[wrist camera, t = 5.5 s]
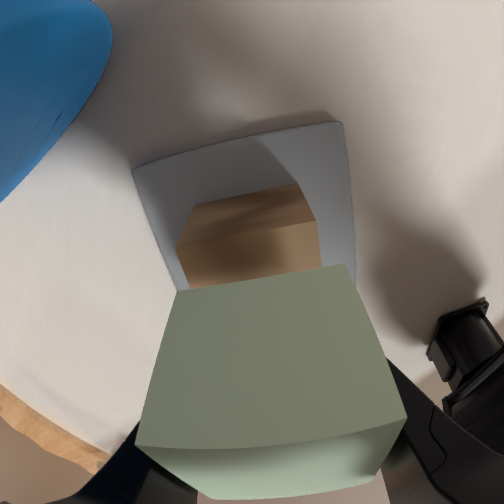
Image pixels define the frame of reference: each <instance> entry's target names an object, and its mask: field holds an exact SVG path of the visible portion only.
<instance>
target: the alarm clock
mask: <svg viewBox="0 0 504 504" xmlns="http://www.w3.org/2000/svg"><path fill="white" fill-rule="evenodd" d="M112 41H113V37H112V26H111V23H110V20H109V18H108V17H107V15H106V14H105V13H104V11H103V10H102V9H100V8H99V7H98V6H97V5H96V4H95V3H93V2H92V1H91V0H0V203H1V202H2V201H3V200H4V199H5V198H6V197H7V196H8V195H9V194H10V193H11V192H12V191H13V190H14V189H15V188H16V187H17V186H18V184H19V183H20V182H21V181H22V180H23V179H24V178H25V177H26V176H27V175H28V174H29V173H30V172H31V170H32V169H33V168H34V167H35V166H36V165H37V164H38V163H39V161H40V160H41V159H42V158H43V157H44V156H45V154H46V153H47V152H48V151H49V150H50V149H51V147H52V146H53V145H54V144H55V142H56V141H57V140H58V139H59V138H60V136H61V135H62V134H63V133H64V131H65V130H66V129H67V127H68V126H69V125H70V123H71V122H72V121H73V119H74V118H75V117H76V115H77V114H78V113H79V111H80V110H81V108H82V107H83V105H84V104H85V102H86V101H87V99H88V98H89V96H90V95H91V93H92V91H93V90H94V88H95V86H96V85H97V83H98V81H99V79H100V77H101V75H102V73H103V71H104V69H105V66H106V64H107V62H108V59H109V56H110V52H111V48H112Z"/></svg>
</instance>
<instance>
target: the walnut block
mask: <svg viewBox="0 0 504 504" xmlns="http://www.w3.org/2000/svg"><path fill="white" fill-rule="evenodd" d="M175 252H176V254H177V257H178V259H179V262H180V264H181V267H182V269H183V272H184V274H185V277H186V279H187V281H188V284H189V286H190V289H194V288H201V287H207V286H214V285H220V284H227V283H233V282H239V281H245V280H251V279H258V278H264V277H270V276H275V275H281V274H287V273H293V272H299V271H304V270H310V269H316V268H321V267H322V262H321V253H320V245H319V237H318V229H317V221H316V219H315V216H314V214H313V212H312V210H311V208H310V206H309V204H308V202H307V200H306V198H305V196H304V194H303V192H302V190H301V188H300V186H299V184H298V183H297V184H292V185H287V186H282V187H276V188H271V189H266V190H262V191H257V192H252V193H247V194H243V195H238V196H233V197H229V198H224V199H220V200H216V201H211V202H207V203H203V204H198V205H194V206H193V209H192V211H191V213H190V215H189V217H188V220H187V222H186V224H185V226H184V229H183V231H182V233H181V235H180V238H179V240H178V242H177V245H176V247H175Z"/></svg>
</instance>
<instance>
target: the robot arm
mask: <svg viewBox="0 0 504 504" xmlns="http://www.w3.org/2000/svg"><path fill="white" fill-rule="evenodd" d="M488 306H489V303H488V302H487V301H483V302H481V303H478V304H475V305H473V306H470V307H467V308H464V309H462V310H459V311H456V312H453V313H450V314H447V315H444V316H442V317H441V318H440V319H439V320H438V324H437V328H436V331H435V335H434V338H433V341H432V345H431V348H430V351H429V354H428V359H429V361H433V362H434V364H435V366H436V368H437V370H438V372H439V374H440V377H441V379H442V381H443V382H448V384H449V386H450V388H451V390H452V393H450V394H449V395H448V396H445V397H444V398H443V399H442V404H443V411H444V412H443V411H442V410H441V409H440V408H439V407H438V406H437V405H434V403H433V402H432V401H431V400H430V399H429V398H428V397H427V396H426V395H425V394H424V393H423V392H422V391H421V390H420V389H419V388H418V387H417V386H416V385H415V384H414V383H413V382H412V381H411V380H410V379H409V378H407V377H406V376H405V375H404V374H403V373H402V372H401V371H400V370H399V369H398V368H397V367H396V366H395V365H394V364H393V363H392V362H391V361H390V360H389V359H387V358H386V360H387V362H388V365H389V368H390V370H391V373H392V375H393V378H394V381H395V384H396V386H397V389H398V392H399V395H400V397H401V400H402V403H403V406H404V409H405V412H406V415H407V420H406V422H405V424H404V426H403V428H402V430H401V431H400V433H399V435H398V437H397V439H396V441H395V443H394V444H393V446H392V448H391V450H390V451H389V453H388V455H387V457H386V458H385V460H384V462H383V463H382V465H381V467H380V468H381V471H382V475H383V478H384V482H385V486H386V489H387V493H388V497H389V500H390V504H504V342H503V340H502V339H501V337H500V336H499V334H498V333H497V331H496V330H495V329H494V327H493V326H492V324H491V323H490V321H489V320H488V319H487V317H486V316H485V315H486V312H487V309H488ZM140 420H141V419H140ZM139 424H140V421H139V422H138V423H137V425H136V426H135V427H134V429H133V430H132V431H131V433H130V434H129V435H128V437H127V438H126V439H125V441H124V442H123V443H122V444H121V446H120V447H119V448H118V450H117V451H116V452H115V453H114V454H113V456H112V457H111V458H110V459H109V460H108V462H107V463H106V464H105V465H104V466H103V467H102V468H101V469H100V470H99V471H98V472H97V473H96V474H95V475H94V476H93V477H92V478H91V479H90V480H89V481H88V482H87V484H86V485H84V486H83V487H82V488H81V489H80V490H79V491H78V492H76V493H75V494H73V495H72V496H69V497H67V498H64V499H60V500H57V501H53V502H49V503H46V504H197V495H198V490H197V489H195V488H193V487H192V486H190V485H189V484H187V483H186V482H184V481H183V480H181V479H180V478H178V477H177V476H175V475H174V474H172V473H171V472H169V471H168V470H167V469H165V468H164V467H162V466H161V465H160V464H158V463H157V462H156V461H154V460H153V459H152V458H150V457H149V456H148V455H147V454H145V453H144V452H143V451H141V450H140V449H139V448H138V447H137V446H135V441H136V436H137V432H138V428H139ZM0 504H11V503H9V502H7V501H3V502H0Z"/></svg>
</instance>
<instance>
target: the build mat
mask: <svg viewBox="0 0 504 504" xmlns="http://www.w3.org/2000/svg"><path fill="white" fill-rule="evenodd" d="M131 173H132V176H133V179H134V182H135V184H136V187H137V190H138V193H139V196H140V198H141V201H142V204H143V207H144V209H145V212H146V215H147V217H148V220H149V222H150V225H151V228H152V230H153V233H154V235H155V238H156V240H157V243H158V245H159V248H160V250H161V252H162V255H163V257H164V260H165V262H166V264H167V267H168V269H169V271H170V274H171V276H172V278H173V281H174V283H175V285H176V288H177V290H178V291H181V290H188V289H190V286H189V284H188V281H187V279H186V277H185V274H184V272H183V269H182V267H181V264H180V262H179V259H178V257H177V254H176V252H175V247H176V245H177V242H178V240H179V238H180V235H181V233H182V231H183V229H184V226H185V224H186V222H187V220H188V217H189V215H190V213H191V211H192V209H193V206H194V205H198V204H203V203H207V202H211V201H216V200H220V199H224V198H229V197H233V196H238V195H243V194H247V193H252V192H257V191H262V190H266V189H271V188H276V187H282V186H287V185H292V184H297V183H298V184H299V186H300V188H301V190H302V192H303V194H304V196H305V198H306V200H307V202H308V204H309V206H310V208H311V210H312V212H313V214H314V216H315V219H316V221H317V229H318V237H319V245H320V253H321V262H322V267H327V266H332V265H338V264H343V263H345V265H346V267H347V269H348V272H349V274H350V276H351V278H352V280H353V282H354V284H355V287H356V260H355V238H354V222H353V208H352V196H351V186H350V176H349V167H348V159H347V151H346V143H345V136H344V129H343V123H342V122H339V121H333V122H326V123H319V124H312V125H306V126H300V127H294V128H288V129H282V130H277V131H272V132H267V133H262V134H257V135H252V136H247V137H243V138H238V139H234V140H230V141H225V142H221V143H217V144H213V145H209V146H205V147H202V148H198V149H194V150H190V151H187V152H183V153H180V154H176V155H173V156H169V157H166V158H163V159H160V160H156V161H153V162H150V163H147V164H144V165H141V166H138V167H136V168H134V169H133V170H132V171H131Z"/></svg>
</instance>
